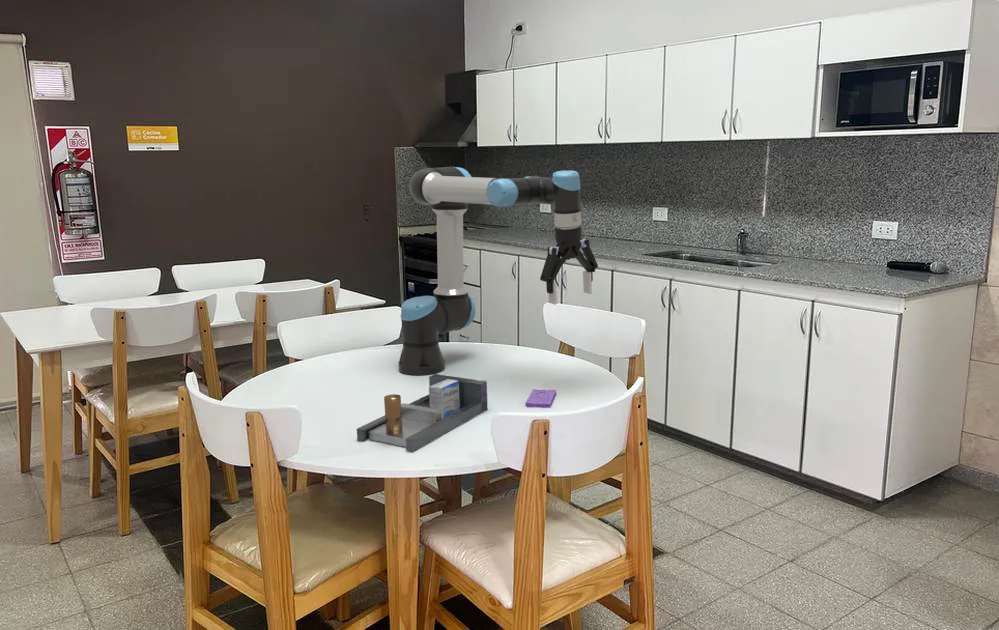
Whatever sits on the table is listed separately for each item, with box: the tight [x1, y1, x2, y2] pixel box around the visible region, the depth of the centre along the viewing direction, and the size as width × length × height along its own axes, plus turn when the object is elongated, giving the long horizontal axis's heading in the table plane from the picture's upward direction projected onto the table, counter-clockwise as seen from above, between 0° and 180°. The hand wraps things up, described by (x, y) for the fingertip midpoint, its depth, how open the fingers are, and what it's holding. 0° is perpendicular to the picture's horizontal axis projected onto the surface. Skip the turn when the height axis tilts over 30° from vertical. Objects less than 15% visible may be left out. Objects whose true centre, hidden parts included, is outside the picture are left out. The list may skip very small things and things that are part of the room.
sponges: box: [525, 388, 557, 409], centre depth 213 cm, size 7×13×2 cm, turn 168°
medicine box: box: [428, 379, 460, 419], centre depth 203 cm, size 8×4×9 cm, turn 148°
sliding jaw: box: [368, 394, 442, 448], centre depth 188 cm, size 12×14×11 cm
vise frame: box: [356, 373, 489, 453], centre depth 195 cm, size 17×34×8 cm, turn 150°
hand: (570, 298), depth 220 cm, fingers open, 13 cm apart
